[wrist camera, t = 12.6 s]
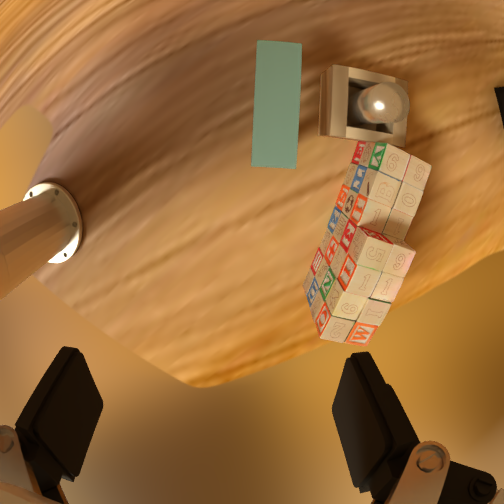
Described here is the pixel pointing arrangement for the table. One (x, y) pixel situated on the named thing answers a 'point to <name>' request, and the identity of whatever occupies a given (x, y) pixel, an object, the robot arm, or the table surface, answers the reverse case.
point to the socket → (336, 103)
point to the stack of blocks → (366, 243)
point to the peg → (378, 104)
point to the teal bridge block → (276, 104)
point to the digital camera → (500, 101)
